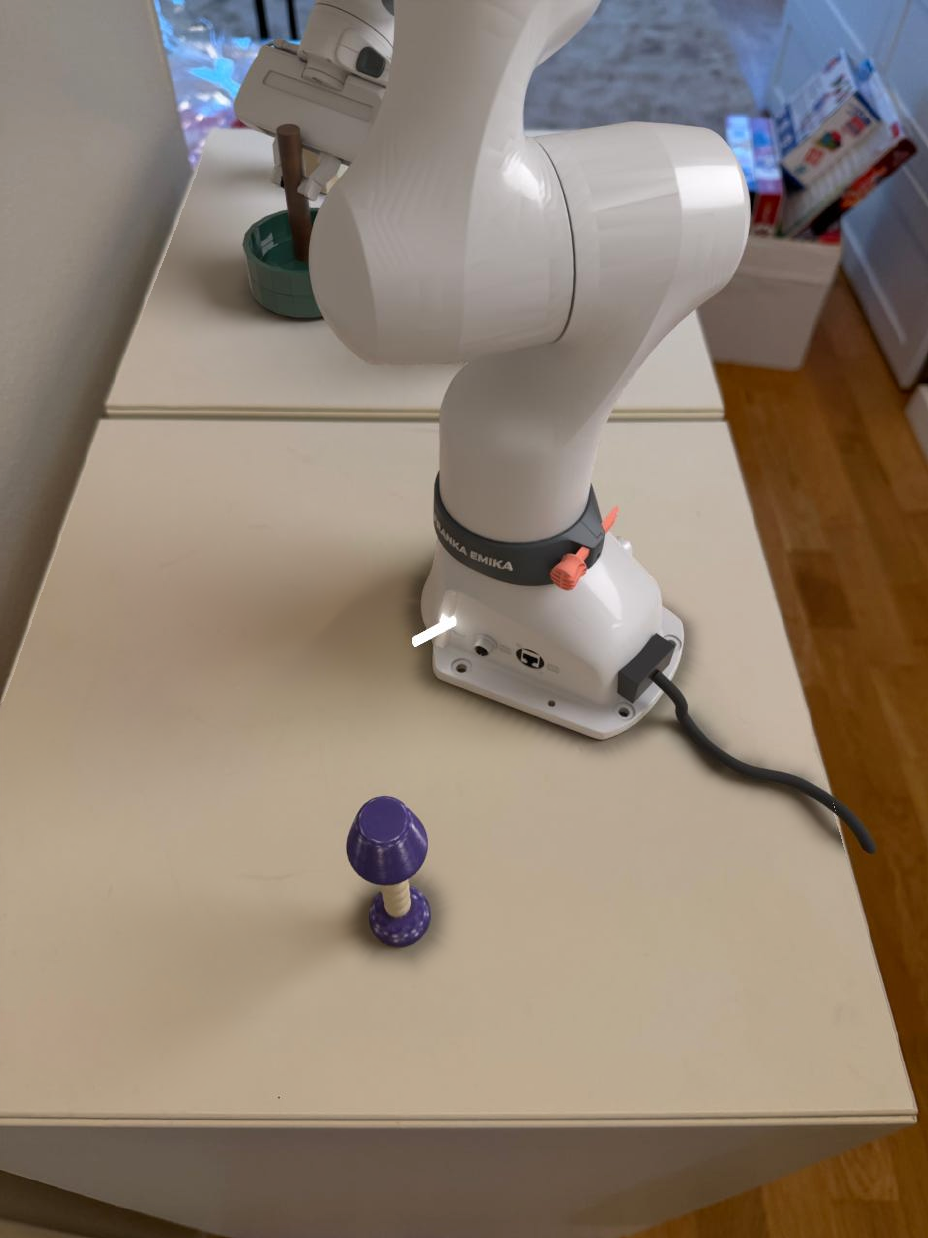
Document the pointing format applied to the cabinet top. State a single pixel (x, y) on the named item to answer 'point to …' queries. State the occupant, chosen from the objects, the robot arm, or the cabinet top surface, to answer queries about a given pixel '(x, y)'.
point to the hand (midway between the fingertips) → (292, 191)
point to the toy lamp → (391, 868)
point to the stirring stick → (295, 189)
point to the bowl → (278, 267)
